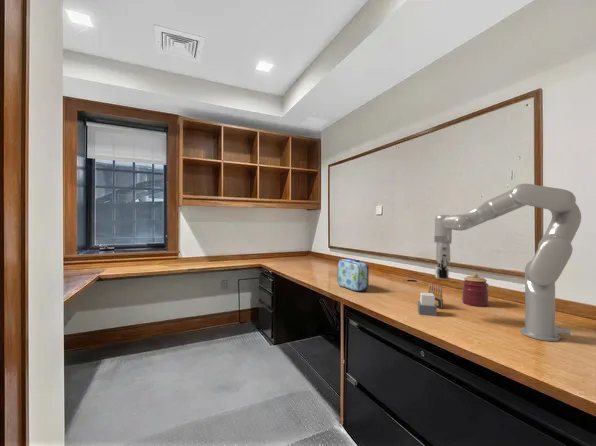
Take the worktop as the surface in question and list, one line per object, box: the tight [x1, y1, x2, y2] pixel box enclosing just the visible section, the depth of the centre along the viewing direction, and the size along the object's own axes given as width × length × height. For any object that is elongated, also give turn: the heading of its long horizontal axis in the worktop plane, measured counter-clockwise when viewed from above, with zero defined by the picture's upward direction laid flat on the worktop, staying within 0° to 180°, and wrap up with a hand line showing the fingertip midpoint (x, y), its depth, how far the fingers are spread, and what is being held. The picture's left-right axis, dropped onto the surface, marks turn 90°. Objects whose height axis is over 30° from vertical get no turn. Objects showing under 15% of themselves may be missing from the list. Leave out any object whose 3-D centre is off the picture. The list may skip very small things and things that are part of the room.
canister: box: [461, 272, 489, 307], centre depth 164 cm, size 13×13×18 cm
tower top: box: [419, 292, 435, 306], centre depth 146 cm, size 6×6×5 cm
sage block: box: [434, 266, 450, 280], centre depth 140 cm, size 5×5×5 cm
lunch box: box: [336, 258, 370, 292], centre depth 201 cm, size 26×11×21 cm, turn 27°
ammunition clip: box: [427, 282, 444, 310], centre depth 159 cm, size 11×2×12 cm, turn 13°
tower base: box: [417, 300, 438, 317], centre depth 146 cm, size 8×8×5 cm
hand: (441, 276), depth 140 cm, fingers closed on sage block, 5 cm apart
